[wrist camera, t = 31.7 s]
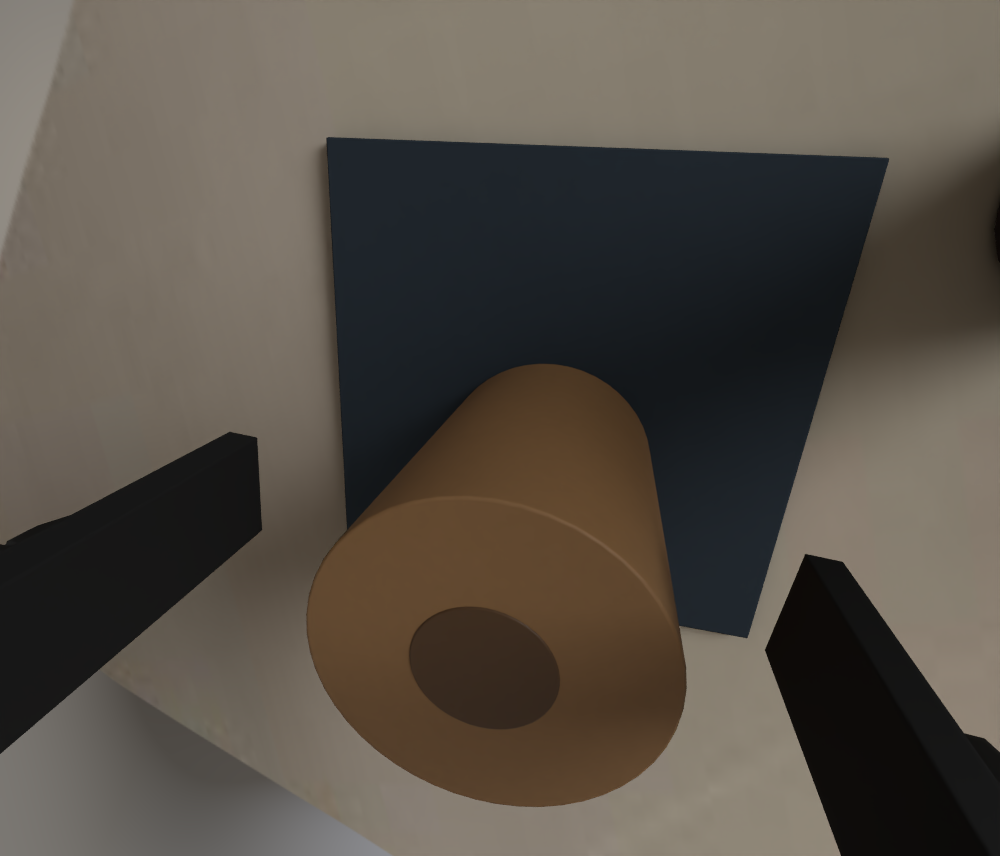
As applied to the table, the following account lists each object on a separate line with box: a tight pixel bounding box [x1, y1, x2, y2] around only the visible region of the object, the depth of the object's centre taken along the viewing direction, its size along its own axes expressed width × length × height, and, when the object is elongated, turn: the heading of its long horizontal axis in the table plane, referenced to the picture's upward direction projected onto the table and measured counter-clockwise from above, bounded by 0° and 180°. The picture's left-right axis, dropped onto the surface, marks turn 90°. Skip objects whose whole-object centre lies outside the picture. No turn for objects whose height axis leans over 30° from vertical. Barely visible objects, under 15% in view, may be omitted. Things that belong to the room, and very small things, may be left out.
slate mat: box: [327, 137, 889, 638], centre depth 22 cm, size 20×20×1 cm
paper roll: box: [306, 364, 687, 807], centre depth 18 cm, size 12×9×9 cm
